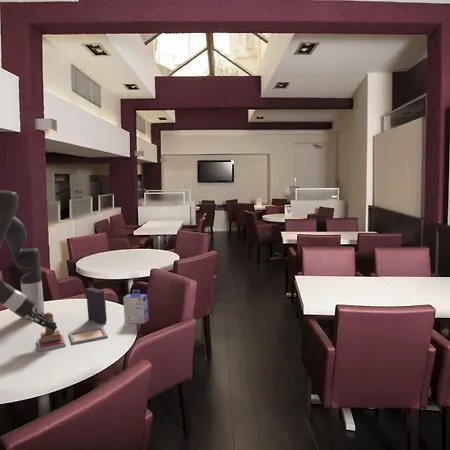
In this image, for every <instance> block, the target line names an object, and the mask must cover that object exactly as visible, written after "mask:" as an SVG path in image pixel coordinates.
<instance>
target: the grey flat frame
mask: <svg viewBox="0 0 450 450" xmlns="http://www.w3.org/2000/svg"><path fill="white" fill-rule="evenodd" d="M68 336H69V338H70V342H71V345H76V344H82V342H83V343H86V342H87V343H88V342H93V341H97V340H102V339H108V334H107V331H106V330H105V329H104V327H103V326H100V327H94V328H89V329H88V328H87V329H83V330H78V331H73V332H69V333H68Z"/></svg>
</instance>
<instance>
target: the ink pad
mask: <svg viewBox="0 0 450 450" xmlns="http://www.w3.org/2000/svg"><path fill="white" fill-rule="evenodd" d="M60 340H61V341H57V342H52V343H47V344H42V343H41V337H40V338H38V339H36V342H37V351H38V352H42V351H48V350H53V349H59V348H64V347H66V346H67V345H66V341H65V337H64V334H60Z"/></svg>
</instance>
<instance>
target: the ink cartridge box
mask: <svg viewBox="0 0 450 450" xmlns="http://www.w3.org/2000/svg"><path fill="white" fill-rule="evenodd" d="M122 298H123V299H122V300H123V312H124V313H123V315H124V316H123V318H124V323H125V324H141V325H143V324H144V325H145V324H146V323H147V322H148V321H149V320H150V318H149V303H148V301H149V300H148V294H144V293H143V294H141V290H140V289H132V291H131V294H126V295H125V296H122Z"/></svg>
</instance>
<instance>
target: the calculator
mask: <svg viewBox="0 0 450 450" xmlns="http://www.w3.org/2000/svg"><path fill="white" fill-rule="evenodd" d="M84 295H85V298H86V303H87V304H86V306H87V319H88V320H89V321H90V322H94V323H96V324H98V325H104V324H107V321H108V320H107V319H108V317H107V307H106V306H107V305H106V300H105V299H106V294H105V291H104V290H101V289H98V288H96V287H95V288H94V287H92V286H91V287H89V288H84Z"/></svg>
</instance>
